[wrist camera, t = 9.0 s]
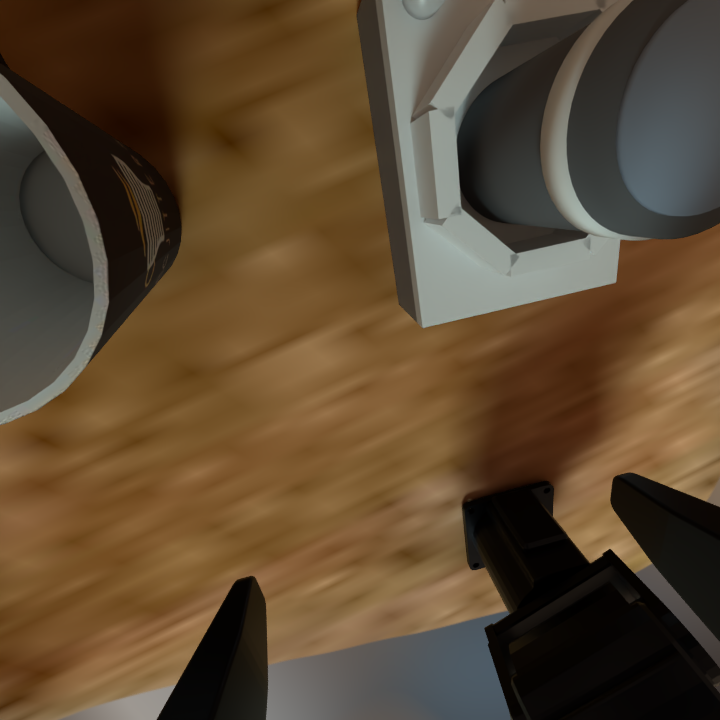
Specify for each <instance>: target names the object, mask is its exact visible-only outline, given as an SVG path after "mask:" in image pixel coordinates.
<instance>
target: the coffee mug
mask: <svg viewBox="0 0 720 720" xmlns="http://www.w3.org/2000/svg"><path fill="white" fill-rule="evenodd" d="M180 243H181V221H180V214H179V210H178V207H177V204H176V202H175V199H174V196H173V194H172V193H171V191H170V189H169V187H168V185H167V184H166V182H165V181H164V179H163V178H162V177H161V176H160V174H159V173H158V172H157V171H156V169H155V168H154V167H153V166H152V165H151V164H150V163H148V162H147V161H146V160H145V159H144V158H143V157H142V156H141V155H139V154H138V153H136V152H135V151H133V150H132V149H130V148H129V147H127V146H126V145H124V144H122V143H121V142H119V141H118V140H116V139H115V138H113V137H112V136H110V135H109V134H107V133H106V132H104V131H103V130H101V129H100V128H98V127H97V126H95V125H94V124H92V123H91V122H89V121H87V120H86V119H84V118H83V117H81V116H80V115H78V114H77V113H75V112H74V111H72V110H71V109H69V108H68V107H66V106H65V105H63V104H62V103H60V102H59V101H57V100H55V99H54V98H52V97H51V96H49V95H48V94H46V93H45V92H43V91H42V90H40V89H39V88H37V87H36V86H34V85H33V84H31V83H30V82H28V81H27V80H25V79H24V78H22V77H20V76H19V75H17V74H16V73H14V72H13V71H11V70H10V68H9V67H8V65H7V64H6V62H5V61H4V59H3V57H2V55H1V54H0V425H1V424H6V423H8V422H10V421H13V420H15V419H17V418H20V417H22V416H24V415H27V414H29V413H31V412H34V411H36V410H38V409H40V408H41V407H42V406H44V405H45V404H47V403H48V402H50V401H51V400H52V399H54V398H55V397H57V396H58V395H59V394H61V393H62V392H64V391H65V390H66V389H67V388H68V387H69V386H70V384H71V383H72V382H73V381H74V380H75V379H76V378H77V376H78V375H79V374H80V373H81V372H82V371H83V370H84V368H85V367H86V366H87V365H88V364H89V363H90V361H91V360H92V359H93V358H94V357H95V355H96V354H97V353H98V352H99V351H100V350H101V348H102V347H103V346H104V345H105V344H106V342H107V341H108V340H109V339H110V338H111V337H112V335H113V334H114V333H115V332H116V331H117V330H118V328H119V327H120V326H121V325H122V324H123V322H124V321H125V320H126V319H127V318H128V317H129V315H130V314H131V313H132V312H133V311H134V309H135V308H136V307H137V306H138V305H139V304H140V302H141V301H142V300H143V299H144V298H145V296H146V295H147V294H148V293H149V292H150V291H151V289H152V288H153V287H154V286H155V285H156V283H157V282H158V281H159V280H160V279H161V278H162V276H163V275H164V274H165V273H166V272H167V271H168V269H169V268H170V267H171V266H172V264H173V262H174V260H175V258H176V256H177V254H178V250H179V246H180Z"/></svg>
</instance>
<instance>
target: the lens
mask: <svg viewBox="0 0 720 720" xmlns="http://www.w3.org/2000/svg"><path fill="white" fill-rule="evenodd" d="M457 155H458V170H459V184H460V189H461V191H462V193H463V195H464V197H465V199H466V200H467V201H468V203H469V204H470V206H471V207H472V208H473V209H474V210H475V211H476V212H478V213H479V214H480V215H482V216H484V217H485V218H487V219H489V220H492V221H495V222H500V223H508V224H518V225H528V226H537V227H547V228H557V229H566V230H576V231H583V232H585V233H588V234H591V235H594V236H599V237H605V238H613V239H622V240H648V239H677V238H684V237H688V236H691V235H694V234H698V233H700V232H702V231H705V230H707V229H709V228H712V227H713V226H715V225H717V224H719V223H720V0H619V1H617V2H615V3H614V4H612V5H611V6H610V7H609V8H607V9H606V10H605V11H604V12H602V13H601V14H600V15H599V16H598V17H597V18H596V19H595V20H594V21H593V22H592V23H590V24H588V25H587V26H585V27H583V28H582V29H580V30H578V31H577V32H575V33H573V34H572V35H570V36H568V37H567V38H565V39H563V40H562V41H560V42H558V43H557V44H555V45H553V46H552V47H550V48H548V49H547V50H545V51H543V52H542V53H540V54H538V55H537V56H535V57H533V58H532V59H530V60H528V61H526V62H525V63H523V64H521V65H520V66H518V67H516V68H515V69H513V70H511V71H510V72H508V73H506V74H505V75H503V76H501V77H500V78H498V79H497V80H495V81H493V82H492V83H491V84H489V85H488V86H487V87H486V88H485V89H484V90H483V91H482V92H481V93H480V94H479V95H478V96H477V97H476V99H475V100H474V101H473V103H472V104H471V106H470V107H469V109H468V111H467V112H466V114H465V117H464V119H463V121H462V123H461V126H460V129H459V132H458V136H457Z"/></svg>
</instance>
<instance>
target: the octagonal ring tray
mask: <svg viewBox="0 0 720 720" xmlns="http://www.w3.org/2000/svg"><path fill="white" fill-rule="evenodd" d="M617 1H619V0H362V1H361V4H360V7H359V10H358V13H357V21H358V28H359V35H360V42H361V48H362V55H363V62H364V69H365V76H366V82H367V89H368V96H369V103H370V110H371V116H372V123H373V130H374V137H375V144H376V150H377V157H378V164H379V171H380V178H381V184H382V191H383V198H384V205H385V211H386V218H387V225H388V232H389V239H390V245H391V252H392V259H393V266H394V273H395V279H396V286H397V293H398V300H399V305H400V306H401V307H402V308H403V309H404V310H405V311H406V312H407V313H408V314H409V315H410V316H411V317H412V318H413V319H414V320H415V321H416V322H417V323H418V324H419V325H420V326H421V327H422V328H425V327H429V326H433V325H437V324H442V323H446V322H450V321H455V320H459V319H463V318H467V317H472V316H476V315H480V314H484V313H489V312H493V311H497V310H501V309H506V308H510V307H514V306H519V305H523V304H527V303H531V302H536V301H540V300H544V299H548V298H553V297H557V296H561V295H566V294H570V293H574V292H578V291H583V290H587V289H591V288H595V287H600V286H604V285H608V284H612V283H616V278H617V268H618V258H619V248H620V239H613V238H605V237H599V236H594V235H591V234H588V233H585V232H583V231H576V230H566V229H557V228H547V227H537V226H528V225H518V224H508V223H500V222H495V221H492V220H489V219H487V218H485V217H484V216H482V215H480V214H479V213H478V212H476V211H475V210H474V209H473V208H472V207H471V206H470V204H469V203H468V201H467V200H466V199H465V197H464V195H463V193H462V191H461V189H460V184H459V170H458V155H457V136H458V132H459V129H460V126H461V123H462V121H463V119H464V117H465V114H466V112H467V111H468V109H469V107H470V106H471V104H472V103H473V101H474V100H475V99H476V97H477V96H478V95H479V94H480V93H481V92H482V91H483V90H484V89H485V88H486V87H487V86H488V85H489V84H491V83H492V82H493V81H495V80H497V79H498V78H500V77H501V76H503V75H505V74H506V73H508V72H510V71H511V70H513V69H515V68H516V67H518V66H520V65H521V64H523V63H525V62H526V61H528V60H530V59H532V58H533V57H535V56H537V55H538V54H540V53H542V52H543V51H545V50H547V49H548V48H550V47H552V46H553V45H555V44H557V43H558V42H560V41H562V40H563V39H565V38H567V37H568V36H570V35H572V34H573V33H575V32H577V31H578V30H580V29H582V28H583V27H585V26H587V25H588V24H590V23H592V22H593V21H594V20H595V19H596V18H597V17H598V16H599V15H600V14H601V13H602V12H604V11H605V10H606V9H607V8H609V7H610V6H611V5H612V4H614V3H615V2H617Z"/></svg>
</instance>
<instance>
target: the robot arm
mask: <svg viewBox="0 0 720 720" xmlns="http://www.w3.org/2000/svg"><path fill="white" fill-rule="evenodd" d="M553 496H554V488H553V486H552V485H551V484H550V483H549V482H548V481H543V482H539V483H535V484H532V485H528V486H524V487H521V488H517V489H513V490H509V491H506V492H502V493H498V494H495V495H491V496H487V497H484V498H480V499H476V500H472V501H469V502H466V503H465V504H464V505H463V507H462V511H463V521H464V532H465V542H466V552H467V562H468V565H469V567H470V569H472V570H478V569H481V568H485V567H486V569H487V571H488V573H489V575H490V577H491V579H492V581H493V583H494V585H495V587H496V588H497V590H498V592H499V594H500V596H501V598H502V600H503V602H504V604H505V606H506V608H507V610H508V612H509V613H510V614H509V615H508V616H506V617H505V618H503V619H502V620H500V621H498V622H497V623H495V624H490V625H489V626H487V627H485V632H486V635H487V638H488V641H489V644H488V647H489V650H490V653H491V656H492V659H493V662H494V665H495V668H496V671H497V674H498V678H499V681H500V684H501V687H502V690H503V693H504V696H505V699H506V702H507V705H508V708H509V712H510V717H511V720H720V693H719V692H718V691H717V689H716V688H715V687H717V686H719V685H720V668H719V667H718V666H717V664H716V663H715V662H714V661H713V659H712V658H711V657H710V656H709V655H708V653H707V652H706V651H705V650H704V648H703V647H702V646H701V645H700V644H699V642H698V641H697V640H696V639H695V638H694V637H693V636H692V634H691V633H690V632H689V631H688V630H687V629H686V628H685V626H684V625H683V624H682V623H681V622H680V621H679V620H678V619H677V618H676V616H674V614H673V613H672V612H671V611H670V610H669V609H668V608H667V607H666V606H665V605H664V604H663V603H662V601H660V599H659V598H658V597H657V596H656V595H655V594H654V593H653V592H652V591H651V590H650V589H649V588H648V587H647V586H646V585H645V584H644V583H643V582H642V581H641V580H640V579H639V578H638V577H637V576H636V575H635V574H634V573H633V572H632V571H631V570H630V569H629V568H628V567H627V566H626V564H625V563H624V562H623V561H622V560H621V559H620V558H619V557H618V556H617V555H616V554H615V553H614V552H613V551H612V550H611V549H609V550H607V551H606V552H604V553H603V556H602V557H600V558H598V559H597V560H595V561H594V562H592V563H591V564H590V563H589V561H588V560H587V559H586V558H585V556H584V555H583V554H582V553H581V551H580V550H579V549H578V548H577V547H576V545H575V544H574V543H573V542H572V540H571V539H570V538H569V537H568V536H567V534H566V532H565V531H564V530H563V529H562V527H561V526H560V525H559V524H558V522H557V521H556V520H555V519H554V518H553ZM610 501H611V505H612V507H613V509H614V511H615V512H616V514H617V515H618V517H619V518H620V519H621V521H622V522H623V523H624V525H625V526H626V528H627V529H628V530H629V532H630V533H631V534H632V536H633V537H634V539H635V540H636V541H637V543H638V544H639V545H640V547H641V548H642V549H643V551H644V552H645V554H646V555H647V556H648V558H649V559H650V560H651V562H652V563H653V564H654V566H655V567H656V568H657V569H658V571H659V572H660V573H661V574H662V575H663V577H664V578H665V579H666V580H667V581H668V583H669V584H670V585H671V586H672V587H673V588H674V589H675V590H676V592H677V593H678V594H679V595H680V596H681V598H682V599H683V600H684V601H685V602H686V603H687V604H688V605H689V607H690V608H691V609H692V610H693V611H694V613H695V614H696V615H697V616H698V617H699V618H700V619H701V621H702V622H703V623H704V624H705V625H706V626H707V628H708V629H709V630H710V631H711V632H712V633H713V634H714V635H715V637H716V638H717V639H718V640H719V641H720V507H718V506H716V505H713V504H711V503H708V502H706V501H703V500H701V499H698V498H696V497H693V496H691V495H688V494H686V493H683V492H681V491H678V490H675V489H673V488H670V487H668V486H665V485H663V484H660V483H658V482H655V481H653V480H650V479H648V478H645V477H643V476H640V475H638V474H635V473H624V474H621V475H617V476H615V477H614V478H613V482H612V490H611V498H610ZM469 509H470V510H469ZM267 694H268V659H267V621H266V603H265V598H264V596H263V593H262V591H261V589H260V587H259V585H258V582H257V580H256V578H255V577H254V576H249V577H245V578H241V579H238V580H237V581H235V583H234V584H233V586H232V587H231V589H230V591H229V593H228V595H227V596H226V598H225V600H224V602H223V603H222V605H221V607H220V609H219V610H218V612H217V614H216V616H215V617H214V619H213V621H212V623H211V625H210V626H209V628H208V630H207V632H206V633H205V635H204V637H203V639H202V640H201V642H200V644H199V646H198V647H197V649H196V651H195V653H194V655H193V656H192V658H191V660H190V662H189V663H188V665H187V667H186V669H185V670H184V672H183V674H182V676H181V677H180V679H179V681H178V683H177V684H176V686H175V688H174V690H173V692H172V693H171V695H170V697H169V699H168V700H167V702H166V704H165V706H164V708H163V709H162V711H161V713H160V714H159V717H158V718H157V720H266V710H267Z"/></svg>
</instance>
